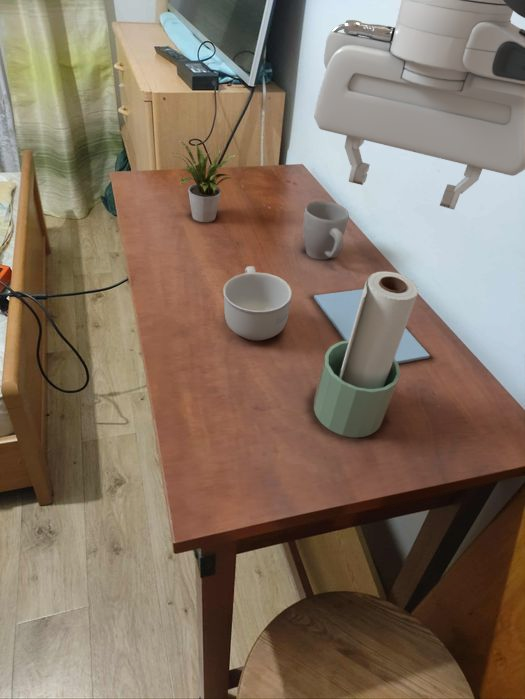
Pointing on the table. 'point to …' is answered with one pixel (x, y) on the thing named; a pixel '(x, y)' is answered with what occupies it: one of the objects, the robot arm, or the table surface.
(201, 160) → the house plant
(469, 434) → the table surface
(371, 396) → the sage green pencil cup
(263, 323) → the teacup
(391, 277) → the paper towel roll
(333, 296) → the mat
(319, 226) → the mug
